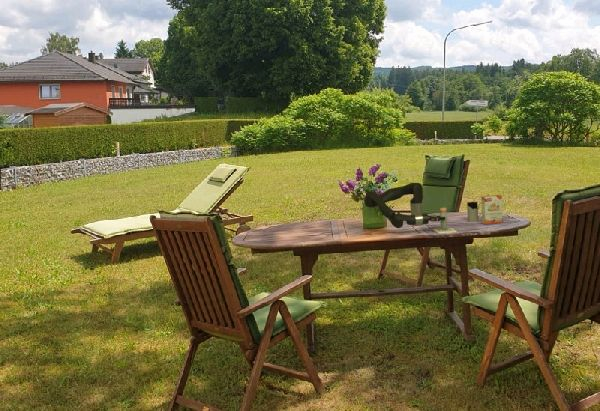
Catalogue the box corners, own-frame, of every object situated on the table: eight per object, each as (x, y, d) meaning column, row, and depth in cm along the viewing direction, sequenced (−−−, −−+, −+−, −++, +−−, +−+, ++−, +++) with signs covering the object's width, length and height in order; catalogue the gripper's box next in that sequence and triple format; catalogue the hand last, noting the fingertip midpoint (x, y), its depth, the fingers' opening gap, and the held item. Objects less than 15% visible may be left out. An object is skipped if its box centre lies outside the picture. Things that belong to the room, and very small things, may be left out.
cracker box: (485, 224, 440) (484, 196, 438) (481, 223, 446) (480, 196, 444) (503, 222, 442) (501, 195, 440) (498, 222, 448) (497, 194, 446)
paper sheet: (432, 230, 432) (432, 228, 432) (450, 229, 432) (450, 227, 432) (438, 233, 416) (437, 232, 416) (456, 232, 416) (456, 230, 416)
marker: (440, 229, 426) (439, 207, 425) (446, 229, 426) (445, 207, 425) (441, 230, 422) (440, 208, 420) (448, 230, 422) (447, 207, 420)
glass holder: (465, 221, 463) (464, 202, 462) (481, 219, 467) (480, 200, 465) (471, 222, 455) (470, 203, 453) (487, 220, 458) (486, 201, 457)
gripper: (419, 223, 431) (441, 221, 431) (423, 225, 416) (446, 224, 416) (418, 212, 430) (441, 211, 430) (423, 215, 416) (446, 213, 416)
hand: (443, 217), depth 423 cm, fingers open, 8 cm apart
